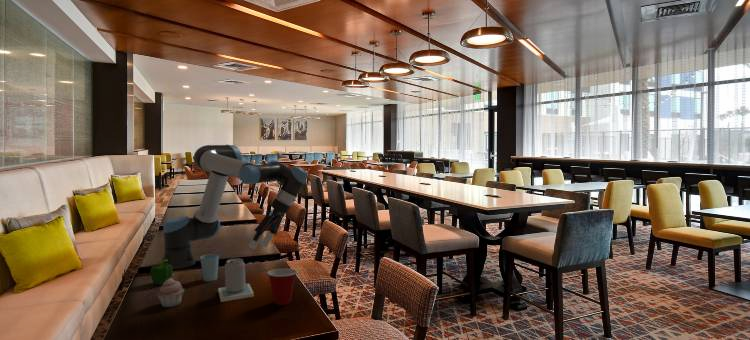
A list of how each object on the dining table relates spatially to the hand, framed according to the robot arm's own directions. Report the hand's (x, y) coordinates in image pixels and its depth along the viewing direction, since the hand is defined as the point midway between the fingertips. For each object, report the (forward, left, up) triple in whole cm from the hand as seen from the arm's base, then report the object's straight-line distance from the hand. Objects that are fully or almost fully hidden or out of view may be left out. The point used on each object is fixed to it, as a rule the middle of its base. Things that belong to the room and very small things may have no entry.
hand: (257, 247), depth 169 cm
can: (+4, -10, -15) cm, 18 cm away
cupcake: (+4, -32, -17) cm, 37 cm away
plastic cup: (+21, +5, -17) cm, 28 cm away
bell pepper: (-24, -37, -17) cm, 47 cm away
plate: (+4, -10, -17) cm, 20 cm away
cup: (-20, -18, -17) cm, 31 cm away
